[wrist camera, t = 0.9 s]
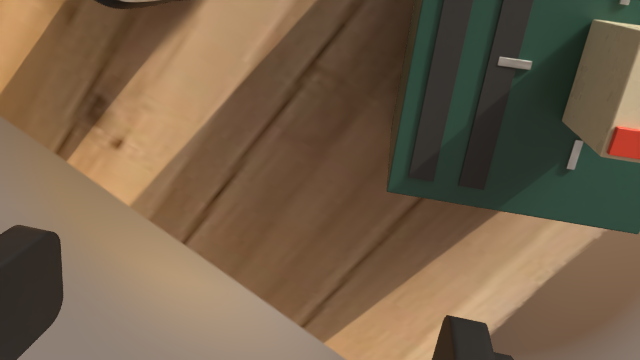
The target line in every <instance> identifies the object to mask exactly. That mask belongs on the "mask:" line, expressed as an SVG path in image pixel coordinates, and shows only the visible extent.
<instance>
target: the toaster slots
mask: <svg viewBox="0 0 640 360" xmlns="http://www.w3.org/2000/svg"><path fill="white" fill-rule="evenodd" d="M533 1H534V0H503V2H502V6H501V11H500V15H499V19H498V23H497V27H496V31H495V35H494V39H493V44H492V48H491V52H490V56H489V60H488V64H487V68H486V73H485V77H484V81H483V85H482V89H481V93H480V97H479V102H478V106H477V110H476V114H475V118H474V122H473V126H472V130H471V135H470V139H469V143H468V147H467V151H466V155H465V159H464V164H463V168H462V172H461V176H460V180H459V184H458V185H459V186H463V187H469V188H475V189H481V190H484V188H485V184H486V180H487V176H488V172H489V169H490V165H491V161H492V157H493V153H494V150H495V146H496V142H497V138H498V134H499V131H500V127H501V123H502V119H503V115H504V112H505V108H506V104H507V100H508V96H509V93H510V89H511V85H512V81H513V77H514V74H515V70H516V68H513V67H506V66H499V65H498V61H499V57H504V58H511V59H518V58H519V54H520V51H521V47H522V43H523V39H524V35H525V32H526V28H527V24H528V20H529V16H530V13H531V9H532V5H533ZM472 5H473V0H444V2H443V7H442V12H441V17H440V22H439V27H438V32H437V37H436V42H435V47H434V52H433V57H432V62H431V67H430V72H429V77H428V82H427V87H426V92H425V97H424V102H423V107H422V111H421V116H420V121H419V126H418V131H417V136H416V141H415V146H414V151H413V156H412V161H411V166H410V171H409V176H408V177H409V178H415V179H421V180H427V181H434V176H435V172H436V167H437V163H438V158H439V154H440V149H441V145H442V140H443V136H444V131H445V127H446V122H447V118H448V113H449V109H450V104H451V100H452V95H453V90H454V86H455V81H456V77H457V72H458V68H459V63H460V59H461V54H462V50H463V45H464V41H465V36H466V32H467V27H468V23H469V18H470V14H471V9H472Z"/></svg>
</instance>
